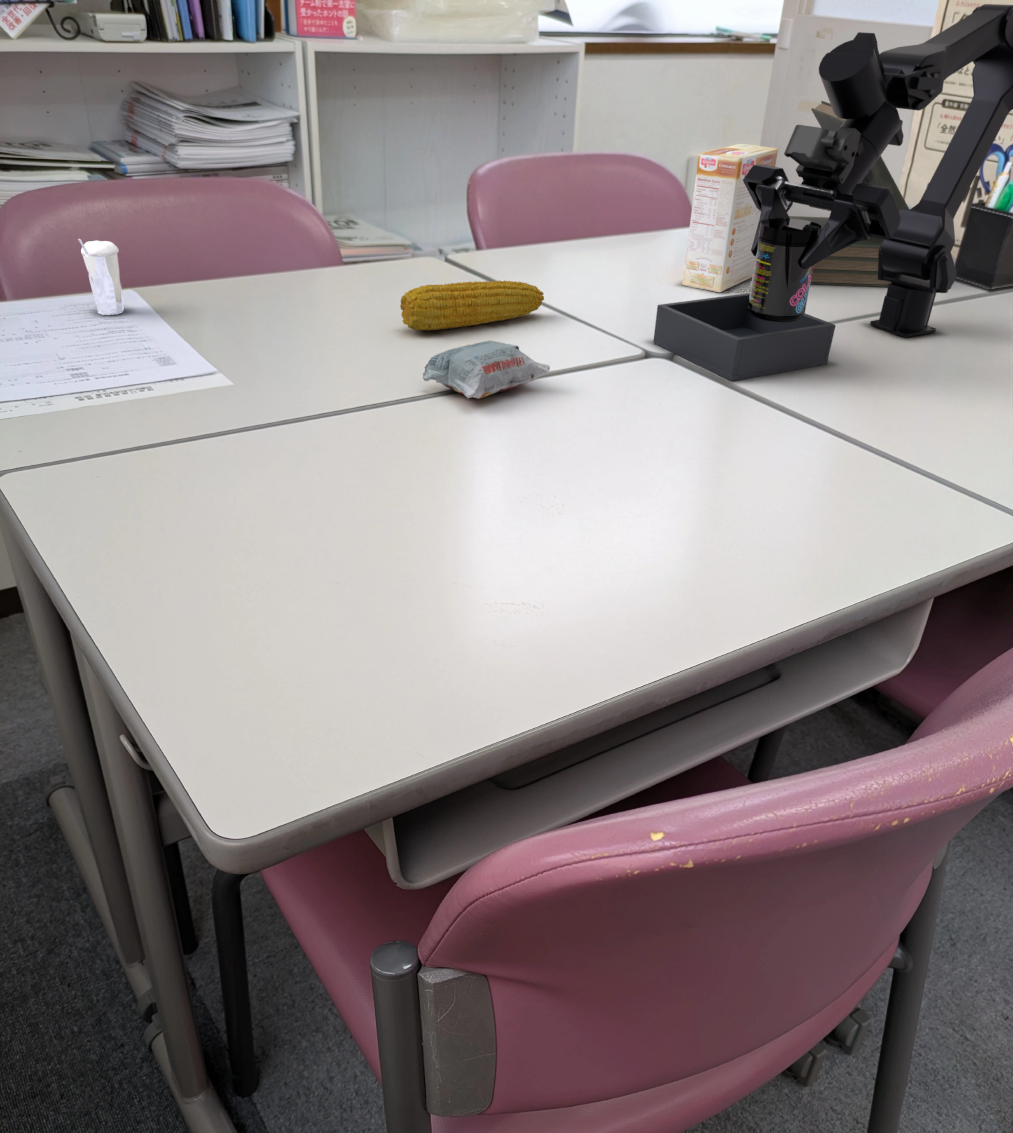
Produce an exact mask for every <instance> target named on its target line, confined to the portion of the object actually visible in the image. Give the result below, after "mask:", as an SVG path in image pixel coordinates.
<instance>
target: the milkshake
mask: <svg viewBox="0 0 1013 1133" xmlns="http://www.w3.org/2000/svg"><path fill="white" fill-rule="evenodd" d="M77 240H78V242H79V244H80V246H81V249H80V253H81V258H82V260H83V263H84V267H85V269H86V273H87V277H88V281H89V285H90V288H91V292H92V295H93V299H94V303H95V307H96V311H97V313H98V314H100V315H102V316H114V315H119V314H122V313H124V309H125V308H124V299H123V288H122V279H121V278H122V277H121V266H120V265H121V264H120V250H119V247H118V246H117V245H116V244H115V243H114V242H112V241H109V240H102V241H101V240H97V239H96V240H93V241H91V240H89V241H86V242H85V243H84V242H83V240H82V239H80V238H78V239H77Z"/></svg>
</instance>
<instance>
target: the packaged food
mask: <svg viewBox="0 0 1013 1133" xmlns="http://www.w3.org/2000/svg"><path fill="white" fill-rule="evenodd" d="M550 370H551V366H550V365H549V364H546V363H541V362H537V361H535V360H534V359H532V358H531V357H529V356H528V355H527V354H526V353H524V352H522V351H521V350H520V347H519V345H515V344H510V343H505V342H500V341H495V340H491V339H490V340H485V341H480V342H475V343H472V344H467V345H463V346H462V345H461V346H458V347H455V348H454V347H453V348H450V349H447V350H445V351H443V352H440V353H437V354H435V355H433V356H432V357H431V358H429V360H428V362H427V364H426V365H425V366H424V372H422V379H423V381H424V382H429V381H430V380H433V381H435V382H436V383H437V384H441V385H442V386H444V387H446V388H448V389H450V390H453V391H454V392H457V393H459V394H462V395H464V396H465V397H466V398H467V399H470V398H474V399H478V400H479V399H482V398H485V397H488V396H491V395H493V394H497V393H501V392H505V391H508V390H511V389H513V388H517V387H519V386H522V385H525V384H528V383H531V382H533V381H535V380H536V379H537V378H539V377H542V376H543V375H546V374H548V373H549V372H550Z"/></svg>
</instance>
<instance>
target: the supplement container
mask: <svg viewBox="0 0 1013 1133" xmlns="http://www.w3.org/2000/svg"><path fill="white" fill-rule="evenodd" d="M820 232H821V225H819V224H817V223H815V222H811V221H806V220H800V219H790V218H772V219H766V220H763V221H761V225H760V231H759V236H758V238H759V239H758V246H757V252H756V258H755V265H754V271H753V277H751V285H750V290H749V293H750V296H749V303H748V310H749V312H750V314H751V315H752V316H754V317H756V318H758V319H761V320H765V321H771V322H793V321H797V320H799V319H800V318H802V317H803V315H804V313H805V314H806V309H807V305H808V304H807V303H808V298H809V292H810V287H811V284H810V283H811V278H812V273H813V267H814V265H813V266H811V267H809V268H808V269H803V268H802V266H801V261H802V259H803V257H804V256H805V254H806V252H807V250H808V249H809V247H810V246H811V245H812V243H813V242H814V240H815V239H816V237H817V236H818V234H819V233H820Z"/></svg>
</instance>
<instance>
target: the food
mask: <svg viewBox="0 0 1013 1133" xmlns="http://www.w3.org/2000/svg"><path fill="white" fill-rule="evenodd" d="M543 301H545V296H544V292H543V291H541V290H540V289H539V287H537V285H533V284H530V283H528V282H523V281H516V280H515V281H513V280H492V281H487V280H484V281H476V280H475V281H460V282H456V283H455V282H450V283H444V284H425V285H421V286H418V287H414V288H412V289H410V290H408V291H407V292H405V293H404V294H403V295H402V296H401V298H400V305H399V306H400V310H401V317H402V323H403V324H404V325H407V327H408V328H409V329H411V330H414V331H417V330H419V331H438V330H447V329H450V330H451V329H455V328H456V329H457V328H462V327H464V328H466V327H471V326H478V325H482V324H487V323H488V324H490V323H497V322H501V321H506V320H513V319H515V318H516V319H517V318H518V317H519V318H522V317H524V316H528V315H529V314H530V313H532V312H535V311H537V310H539V308H541V305H542V304H543Z"/></svg>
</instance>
